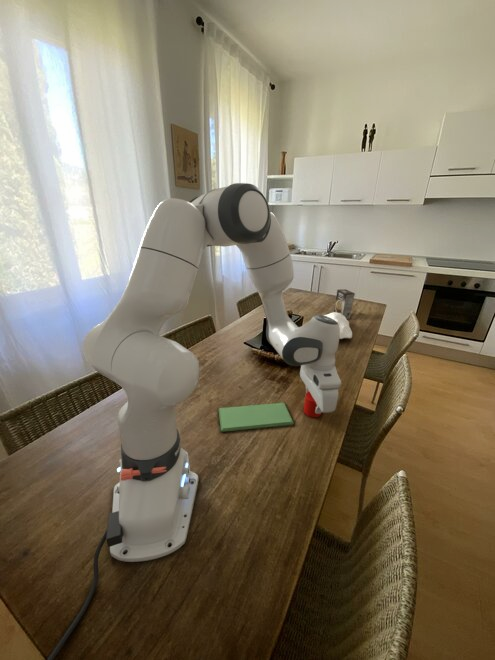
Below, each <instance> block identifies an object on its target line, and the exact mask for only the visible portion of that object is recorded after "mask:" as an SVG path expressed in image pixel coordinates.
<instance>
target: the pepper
mask: <svg viewBox="0 0 495 660" xmlns="http://www.w3.org/2000/svg"><path fill="white" fill-rule="evenodd" d="M315 406H317V404H316V402H315V400H314V398H313V397H312V395H311V393H310V392H306V393H305V397H304V406H303V412H304V414H305V415H306V416H308V417H310V418H319V417H320V416H321V415H322V412H321V413H320V414H316V412H315V410H314V409H315Z"/></svg>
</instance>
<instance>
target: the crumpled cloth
mask: <svg viewBox="0 0 495 660" xmlns="http://www.w3.org/2000/svg"><path fill="white" fill-rule="evenodd" d="M323 316H327V317H329V318H332V319H333V320H335V321H336V322H337V323H338V324H339V328H340V336H339V340H343V339H352V338H353V331H352V328H351V327H350V321H349V320H348V319H346V318H345V316H343V315H342V314H340V313H336V312H334V311H333V312H330V313H327V314H324V315H323Z"/></svg>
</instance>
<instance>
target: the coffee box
mask: <svg viewBox="0 0 495 660" xmlns="http://www.w3.org/2000/svg"><path fill="white" fill-rule="evenodd" d="M355 294H356V293H355V292H352V291H350V290H348V289H337V291H336V296H335V302H334V307H333V308H334V309H333V312H336V313H340V314H342V315H343V316H345V318H346V319H347V320H348V319H351V315H352V310H353V305H354V299H355Z"/></svg>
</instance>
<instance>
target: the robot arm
mask: <svg viewBox="0 0 495 660" xmlns="http://www.w3.org/2000/svg"><path fill="white" fill-rule="evenodd" d="M233 246H236V247H237V248H238V250H239V251H240V253H241V256H242V259H243V263H244V266H245V269H246V272H247V274H248V276H249V279H250V281H251V283H252V285H253V287H254V289H255V290H256V292H257V294H258V296H259V298H260V302H261V304H262V308H263V311H264V314H265V318H266V327H265V328H266V329H265V337H266V340H267V342H268V343H269V344H270V345H271V347H272V348H274V350H275V351H276V352H277V354H278V355H279V356H280V358H281V359H282V360H283V361H284V363H285V364H287V365H288V366H291V367H300V370H299V377H300V379H301V381H302V382H303V385H305V392H306V393H307V392H310V393H311V395H312V397H313V398H314V400H315V402H316V404H317V406H315V409H314V410H315V412H316V414H320V413H321V414H322V413H323V414H330V413H333V412H335V411H336V408H337V404H338V400H339V388H341V386H342V380H341V378H340V376H339V374H338V371H337V367H336V354H337V351H338V348H339V345H340V339H339V336H340V328H339V324H338V323H337V322H336V321H335V320H333V319H332V318H329V317H327V316H324V315H323V314H316V315H313V316H312V317H311V319H310V320H308V321H307V322H306V323H305V324H303V325H301V326H298V325H297V324H296V322H294V321H293V319H291V318H290V317H289V315H288V312H287V308H286V304H285V300H284V295H283V291H285V290H287V289H288V288H289V286H290V285H291V284H292V282H293V280H294V277H295V276H294V263H293V260H292V259H293V258H292V255H291V252H290V248H289V244H288V242H287V238H286V236H285V233H284V231H283V228H282V226H281V223H279V219H278V218H277V217H276V215H275V214H274V213H273V212H272V211H271V207H270V204H269V202H268V200H267V198H266V196H265V194H264V193H263V191H262V190H260V188H259V187H257V186H256V185H255V184H253V183H248V182H236V183H231V184H229V185H227V186H223V187H219V188H213V189H211V190H209V191H206V192H204V193H203V194H200V195H198V196H196V197H193V198H192V199H191V200H189V201H188V200H185V199H182V198H178V197H170V198H166V199H164V200H161V201H160V202H159V203H158V204H157V206H156V207H155V209H154V211H153V212H152V215H151V217H150V218H149V221H148V222H147V225H146V227H145V229H144V232H143V235H142V237H141V240H140V243H139V246H138V250H137V253H136V256H135V260H134V262H133V266H132V269H131V270H130V271H131V272H130V275H129V278H128V281H127V284H126V286H125V289H124V291H123V293H122V294H121V297H120V299H119V300H118V302H117V303H116V305H115V306H114V308H113V309H112V311H111V312H110V313H109V314H108V315H107V317H106V318H105V319H104V320H103V321H102V322H100V323H98V324H97V325H95V326H93V327H92V328H91V329H90V330H89V331H88V332H87V333H86V335H85V337H84V339H83V341H82V342H83V343H82V353H83V356H84V358H85V360H86V361H87V362H88V363H89V364H90V367H92V368H93V369H94V370H95V371H96V373H98V374H100V375H101V376H103V377H105V378H107V379H109V380H110V381H112V382H113V383H115V384H117V385H118V386H120V387H121V388H122V390H123V391H124V392H125V394H126V396H127V401H126V402H125V403H124V405H122V407H121V408H120V409H119V410H118V413H117V418H116V421H117V428H118V431H119V436H120V441H121V443H120V459H119V461H118V463H119V467H118V468H117V469H116V471H117V473H119V482H117V483H116V484H115V485H114V487H113V493H112V494H113V495H112V496H113V497H112V510H111V512H110V513H108V519H107V527H106V530H105V533H104V534H103V536H102V538H101V539H100V540H99V543H98V545H97V548H96V550H95V553H94V556H93V563H92V564H93V580H92V584H91V587H90V589H89V593H88V595H87V598H86V600H85V601H84V604H83V605H82V607H81V609H80V610H79V612H78V614H77V615H76V617H75V618H74V620H73V621H72V623H71V625H70V626H69V627H68V628H67V630H66V631H65V633H64V634H63V636H62V637H61V639H60V640H59V641H58V643H57V645H56V646H55V647H54V649H53V650H52V651H51V653H50V655H49V656H48V658H47V659H46V660H54V659H55V658H56V657H57V654H59V652H60V650H61V649H62V647H63V646H64V644H65V643H66V642H67V640H68V638H69V637H70V635H71V634H72V633H73V632H74V630H75V628H76V626H77V625H78V624H79V622H80V620H81V619H82V618H83V616H84V614H85V613H86V611H87V609H88V607H89V605H90V603H91V601H92V599H93V596H94V593H95V591H96V588H97V586H98V582H99V557H100V553H101V551H102V548H103V546H104V544H105V542H106V543H107V547H108V548H109V554H110V556H111V557H112V558H113V559H115V560H118V561H120V562H126V563H139V562H147V561H152V560H156V559H160V558H163V557H165V556H168V555H171V554H172V553H174V552H176V551H177V550H179V549H180V548H182V546H183V545H185V544H186V541H187V537H188V534H189V533H188V532H189V529H190V524H191V520H192V514H193V509H194V504H195V500H196V495H197V490H198V486H199V475H198V474H197V473H196V472H194V471H191V467H190V465H191V464H190V458H189V453H188V451H186V450H185V449H183V447H181V444H182V443H181V442H182V441H181V436H180V432H179V430H178V428H177V427H178V426H177V414H176V413H177V405H179V404H181V403H182V402H184V401H185V400H186V399H188V398H189V397H190V396H191V395H192V394H193V393H194V391H195V389H196V387H197V385H198V383H199V380H200V373H201V372H200V370H201V369H200V362H199V359H198V357H197V356H196V355H195V354H194V353H193V352H191V351H190V350H189V349H187V348H186V347H185V346H183V345H182V344H180V343H178V342H177V341H175V340H173V339H170V338H167V337H164V336H163V335H159V333H160V331H161V329H162V327H163V326H164V324H165V323H166V322H167V321H168V320H169V319H170V318H171V317H173V316H174V315H177V314H180V313H181V312H183V311H184V310H185V309H186V308H187V306H188V304H189V300H190V298H191V294H192V291H193V288H194V284H195V281H196V277H197V274H198V270H199V266H200V263H201V259H202V255H203V254H204V251H205V249H206V248H207V247H225V248H226V247H233Z"/></svg>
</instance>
